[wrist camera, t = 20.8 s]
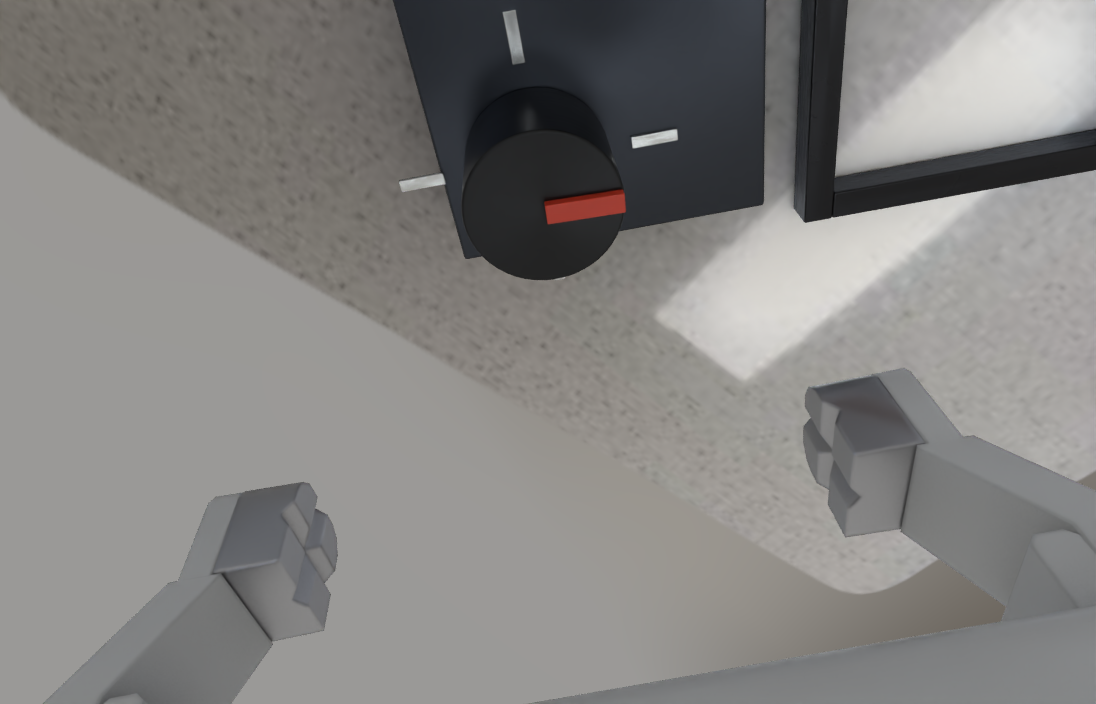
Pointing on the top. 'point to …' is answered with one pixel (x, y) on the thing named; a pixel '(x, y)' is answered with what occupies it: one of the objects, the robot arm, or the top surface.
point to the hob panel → (606, 90)
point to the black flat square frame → (907, 182)
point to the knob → (540, 185)
